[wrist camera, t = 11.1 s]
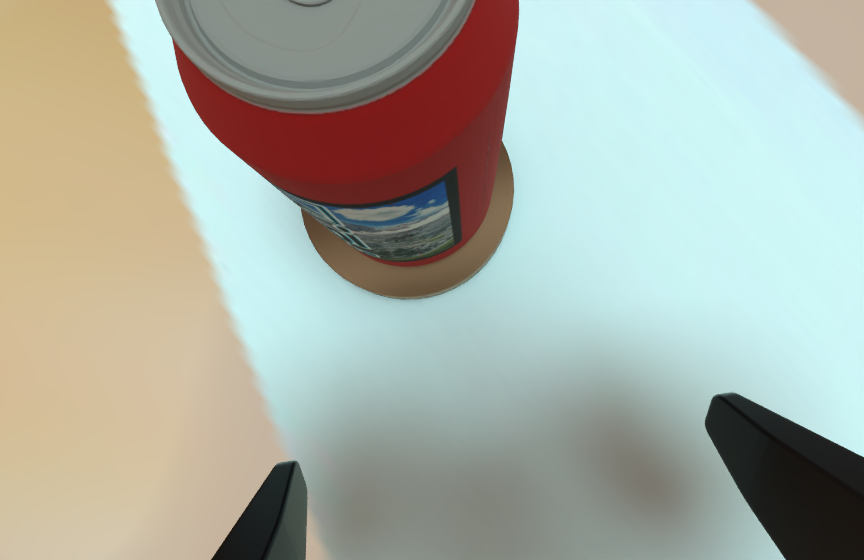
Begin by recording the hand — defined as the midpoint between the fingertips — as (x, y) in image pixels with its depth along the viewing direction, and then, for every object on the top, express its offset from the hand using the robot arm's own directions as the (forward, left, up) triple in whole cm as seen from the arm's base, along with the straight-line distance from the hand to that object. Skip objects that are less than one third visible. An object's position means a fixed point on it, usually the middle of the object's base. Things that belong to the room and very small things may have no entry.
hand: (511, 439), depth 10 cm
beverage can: (+8, +4, -8) cm, 12 cm away
